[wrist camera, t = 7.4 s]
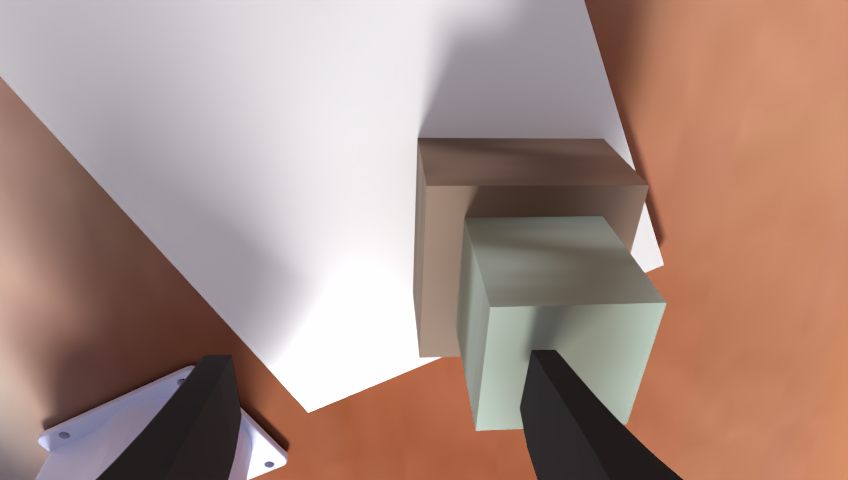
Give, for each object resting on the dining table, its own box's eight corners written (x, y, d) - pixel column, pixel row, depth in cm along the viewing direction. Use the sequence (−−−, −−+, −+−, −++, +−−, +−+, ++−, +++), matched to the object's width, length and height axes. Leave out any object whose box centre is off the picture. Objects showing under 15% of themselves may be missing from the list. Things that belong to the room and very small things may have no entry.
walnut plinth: (412, 292, 24) (419, 357, 20) (417, 137, 20) (426, 185, 17) (571, 289, 24) (603, 352, 21) (603, 138, 21) (649, 185, 17)
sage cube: (455, 327, 20) (475, 430, 16) (464, 217, 17) (490, 307, 13) (578, 324, 20) (626, 423, 16) (602, 216, 18) (666, 302, 14)
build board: (310, 399, 28) (308, 412, 27) (-83, -38, 17) (-102, -35, 16) (655, 254, 25) (663, 264, 24) (455, -397, 14) (460, -413, 13)
